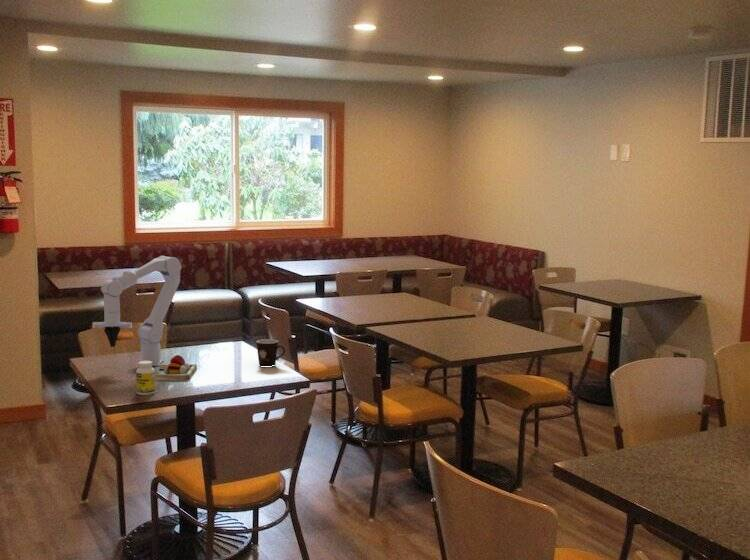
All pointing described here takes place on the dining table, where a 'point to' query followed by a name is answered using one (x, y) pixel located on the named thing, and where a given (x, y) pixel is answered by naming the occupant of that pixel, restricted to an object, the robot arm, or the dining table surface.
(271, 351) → the coffee mug
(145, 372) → the pill bottle
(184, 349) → the dining table surface
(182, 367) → the red and white piece
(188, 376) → the beige wooden tray
